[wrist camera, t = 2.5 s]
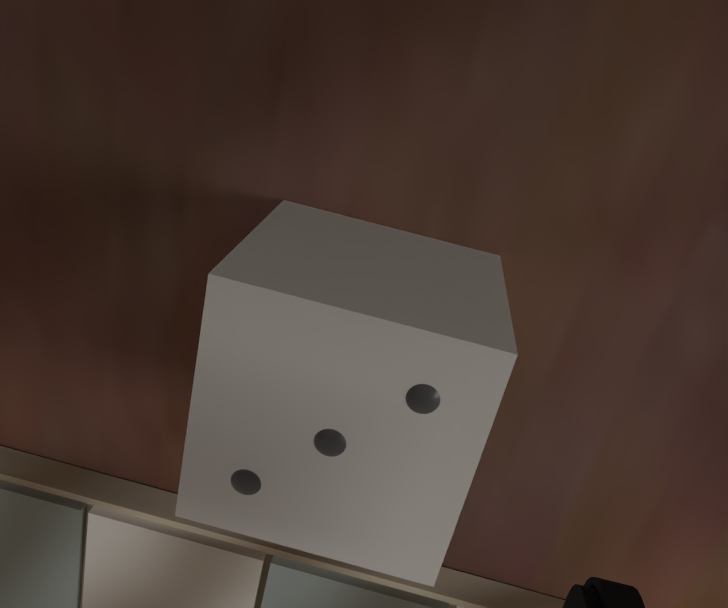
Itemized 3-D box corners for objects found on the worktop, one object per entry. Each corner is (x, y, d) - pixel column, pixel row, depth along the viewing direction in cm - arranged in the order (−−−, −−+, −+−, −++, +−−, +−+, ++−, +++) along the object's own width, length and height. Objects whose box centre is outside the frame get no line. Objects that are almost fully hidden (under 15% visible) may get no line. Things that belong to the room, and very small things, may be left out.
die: (499, 254, 15) (518, 357, 10) (439, 438, 17) (431, 595, 12) (280, 198, 15) (200, 273, 10) (246, 387, 17) (167, 521, 12)
